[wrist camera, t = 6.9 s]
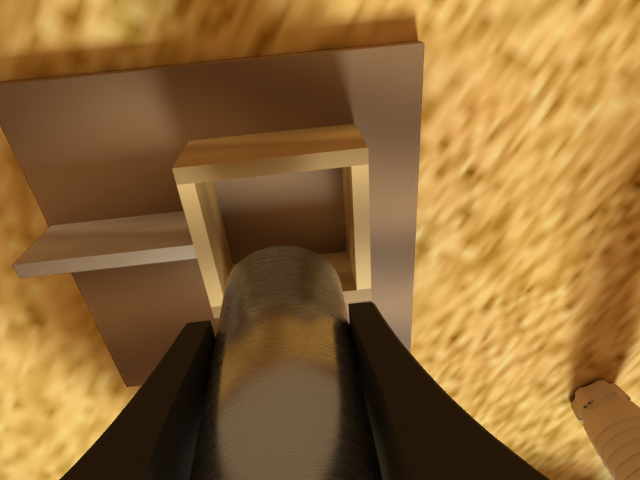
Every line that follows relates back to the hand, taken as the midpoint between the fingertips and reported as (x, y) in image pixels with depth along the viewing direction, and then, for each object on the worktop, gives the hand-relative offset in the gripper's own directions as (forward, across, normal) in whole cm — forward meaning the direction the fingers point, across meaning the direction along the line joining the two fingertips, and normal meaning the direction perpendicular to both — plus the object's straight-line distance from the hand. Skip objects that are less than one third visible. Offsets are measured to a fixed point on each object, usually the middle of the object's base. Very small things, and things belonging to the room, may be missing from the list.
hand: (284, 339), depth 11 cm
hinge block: (+9, +2, +2) cm, 9 cm away
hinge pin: (+2, 0, 0) cm, 2 cm away
